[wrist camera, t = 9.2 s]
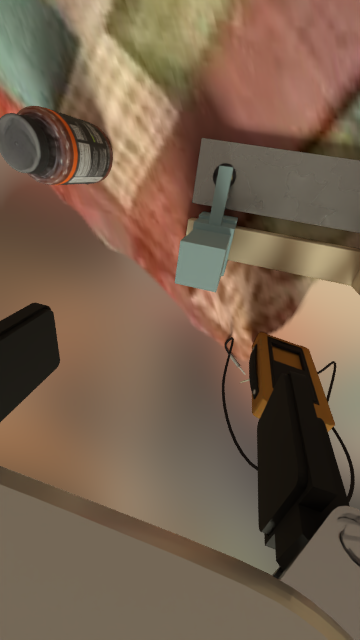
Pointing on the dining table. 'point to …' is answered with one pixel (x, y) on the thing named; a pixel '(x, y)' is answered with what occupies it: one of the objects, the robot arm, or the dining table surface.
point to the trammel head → (208, 241)
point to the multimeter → (265, 372)
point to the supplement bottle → (54, 147)
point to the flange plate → (282, 183)
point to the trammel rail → (294, 255)
